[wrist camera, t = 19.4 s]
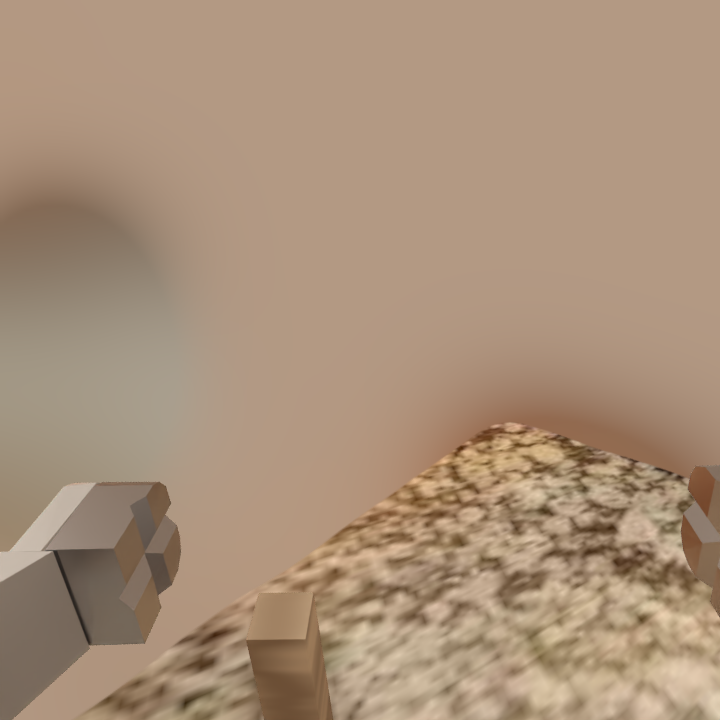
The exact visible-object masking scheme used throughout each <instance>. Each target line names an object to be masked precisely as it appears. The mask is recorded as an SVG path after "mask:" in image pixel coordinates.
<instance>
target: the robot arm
mask: <svg viewBox="0 0 720 720" xmlns="http://www.w3.org/2000/svg"><path fill="white" fill-rule="evenodd" d="M688 490H689V492H690V493H691V495H692V496H693V498H694V499H695V501H696V502H695V503H694V504H693V505H691V506H690V507H689V508H688V509H687V510H686V511H685V512H684V513H683V519H682V527H681V537H682V545H683V551H684V554H685V557H686V559H687V562H688V565H689V566H690V568H691V570H692V572H693V573H694V575H695V577H696V578H698V579H699V580H701V581H702V582H704V583H705V584H707V585H709V586H710V587H712V588H713V590H712V595H711V600H710V602H711V604H712V605H713V607H714V609H715V610H716V612H717V614H718V615H719V617H720V465H714V466H695V468H694V470H693V471H692V473H691V475H690V480H689V485H688ZM170 504H171V501H170V499H169V495H168V492H167V488H166V486H164V485H163V484H162V483H160V482H102V483H72V484H69V485H67V486H64V487H63V488H62V490H61V491H60V492H59V493H58V494H57V495H56V497H55V498H54V499H53V500H52V501H51V503H50V504H49V505H48V506H47V507H46V509H45V510H44V511H43V512H42V513H41V515H40V516H39V517H38V518H37V519H36V520H35V522H34V523H33V524H32V525H31V526H30V528H29V529H28V530H27V531H26V532H25V533H24V535H23V536H22V537H21V538H20V539H19V541H18V542H17V543H16V544H15V546H14V547H13V548H12V549H11V550H10V551H9V552H0V720H12V719H13V718H14V717H16V716H17V715H18V714H19V713H20V712H21V711H22V710H23V709H24V708H25V707H26V706H28V705H29V704H30V703H31V702H32V701H33V700H34V699H35V698H36V697H37V696H38V695H40V694H41V693H42V692H43V691H44V690H45V689H46V688H47V687H48V686H49V685H50V684H52V683H53V682H54V681H55V680H56V679H57V678H58V677H59V676H60V675H61V674H63V673H64V672H65V671H66V670H67V669H68V668H69V667H70V666H71V665H72V664H73V663H75V662H76V661H77V660H78V659H79V658H80V657H81V656H82V655H83V654H84V653H85V652H87V651H88V650H89V649H90V648H89V645H117V644H145V642H146V640H147V637H148V635H149V633H150V631H151V629H152V627H153V624H154V622H155V620H156V618H157V616H158V613H159V612H160V609H161V604H160V601H159V598H158V595H159V594H160V593H161V592H163V591H164V590H166V589H167V588H168V587H169V586H171V585H172V583H173V580H174V578H175V576H176V573H177V571H178V567H179V561H180V555H181V545H180V536H179V532H178V528H177V525H176V524H175V523H174V522H172V521H171V520H170V519H169V518H168V517H167V516H166V515H165V514H166V512H167V510H168V508H169V506H170Z"/></svg>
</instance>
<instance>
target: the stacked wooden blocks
mask: <svg viewBox="0 0 720 720" xmlns="http://www.w3.org/2000/svg"><path fill="white" fill-rule="evenodd" d="M246 641H247V646H248V650H249V655H250V659H251V663H252V668H253V672H254V676H255V681H256V685H257V690H258V694H259V698H260V703H261V707H262V711H263V716H264V720H333V716H332V709H331V703H330V696H329V690H328V683H327V677H326V670H325V664H324V658H323V651H322V645H321V638H320V632H319V625H318V619H317V612H316V606H315V600H314V593H313V592H299V593H259V594H258V598H257V602H256V605H255V609H254V613H253V616H252V620H251V624H250V627H249V631H248V635H247V638H246Z"/></svg>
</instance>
